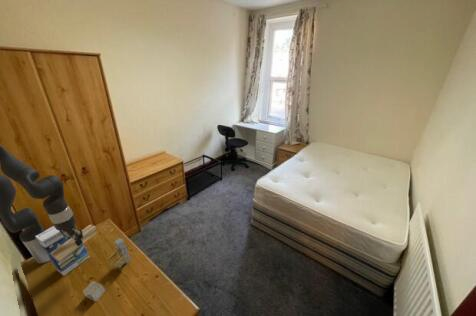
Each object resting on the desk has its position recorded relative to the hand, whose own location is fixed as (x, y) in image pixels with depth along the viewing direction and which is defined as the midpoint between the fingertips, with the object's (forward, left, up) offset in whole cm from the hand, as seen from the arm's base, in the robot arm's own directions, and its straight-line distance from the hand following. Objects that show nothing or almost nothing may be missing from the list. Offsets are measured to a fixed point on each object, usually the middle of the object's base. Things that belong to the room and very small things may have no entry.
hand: (76, 243), depth 95 cm
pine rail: (0, 0, -1) cm, 1 cm away
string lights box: (-14, 0, -21) cm, 26 cm away
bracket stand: (+13, 0, -21) cm, 25 cm away
